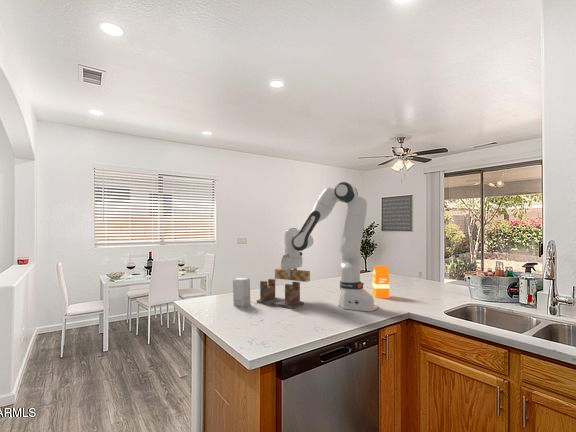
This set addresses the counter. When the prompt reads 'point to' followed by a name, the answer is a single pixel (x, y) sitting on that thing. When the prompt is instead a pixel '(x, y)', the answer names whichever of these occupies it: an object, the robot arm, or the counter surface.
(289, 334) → the counter surface
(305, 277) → the oak rail
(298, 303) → the slotted posts
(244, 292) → the skincare box
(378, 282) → the orange juice
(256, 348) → the counter surface
